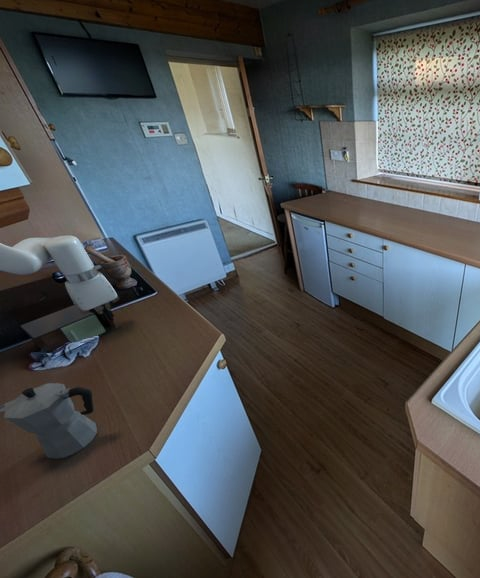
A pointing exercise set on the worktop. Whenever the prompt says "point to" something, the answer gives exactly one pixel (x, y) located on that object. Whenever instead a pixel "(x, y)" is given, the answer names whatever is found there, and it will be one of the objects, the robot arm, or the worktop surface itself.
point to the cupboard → (48, 327)
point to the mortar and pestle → (115, 268)
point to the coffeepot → (53, 418)
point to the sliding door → (83, 329)
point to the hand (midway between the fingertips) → (109, 320)
